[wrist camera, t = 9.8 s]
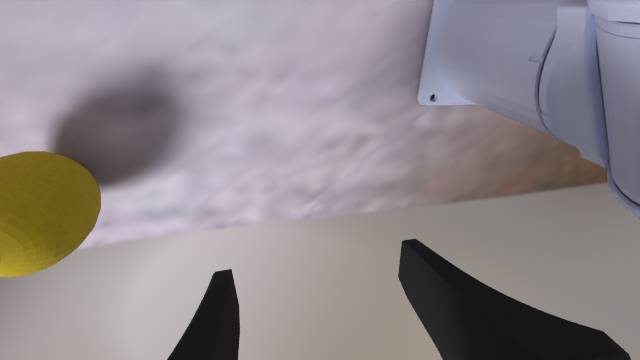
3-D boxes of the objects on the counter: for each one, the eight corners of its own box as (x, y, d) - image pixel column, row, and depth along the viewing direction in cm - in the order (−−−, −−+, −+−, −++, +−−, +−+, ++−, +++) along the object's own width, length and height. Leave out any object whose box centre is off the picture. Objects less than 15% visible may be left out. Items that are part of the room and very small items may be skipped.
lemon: (27, 113, 18) (-108, 181, 11) (133, 157, 20) (74, 236, 13) (3, 191, 20) (-128, 292, 13) (103, 223, 22) (37, 324, 15)
